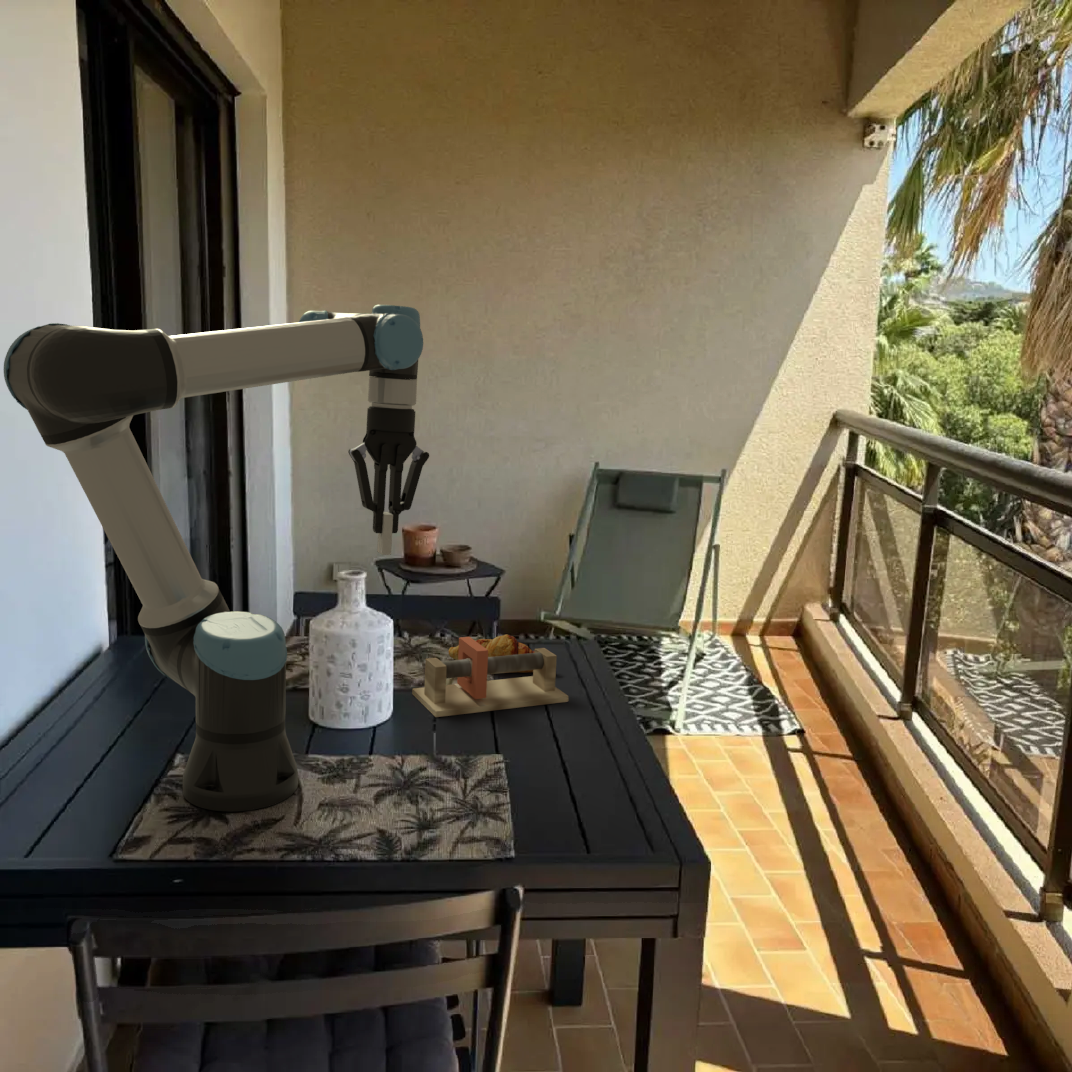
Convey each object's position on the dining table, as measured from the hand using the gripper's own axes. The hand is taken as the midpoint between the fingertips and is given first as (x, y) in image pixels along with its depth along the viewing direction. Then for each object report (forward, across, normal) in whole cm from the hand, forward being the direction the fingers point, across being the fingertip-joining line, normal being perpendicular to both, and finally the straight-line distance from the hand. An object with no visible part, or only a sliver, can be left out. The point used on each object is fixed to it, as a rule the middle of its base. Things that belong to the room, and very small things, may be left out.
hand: (384, 552), depth 162 cm
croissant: (+27, -31, -19) cm, 45 cm away
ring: (+25, -18, -3) cm, 31 cm away
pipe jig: (+27, -22, -3) cm, 35 cm away
